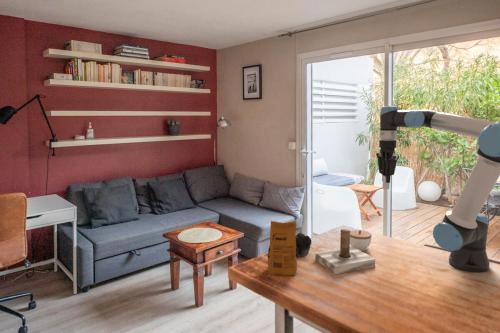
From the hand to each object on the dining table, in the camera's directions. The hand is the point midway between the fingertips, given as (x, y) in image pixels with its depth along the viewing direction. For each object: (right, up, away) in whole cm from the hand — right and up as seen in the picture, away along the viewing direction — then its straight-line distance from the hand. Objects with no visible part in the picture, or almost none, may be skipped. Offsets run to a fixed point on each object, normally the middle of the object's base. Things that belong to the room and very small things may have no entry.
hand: (385, 189), depth 177 cm
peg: (-23, -32, -13) cm, 41 cm away
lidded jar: (-11, -29, +4) cm, 32 cm away
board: (-23, -32, -13) cm, 41 cm away
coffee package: (-51, -34, -20) cm, 64 cm away
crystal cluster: (-42, -31, +1) cm, 52 cm away
